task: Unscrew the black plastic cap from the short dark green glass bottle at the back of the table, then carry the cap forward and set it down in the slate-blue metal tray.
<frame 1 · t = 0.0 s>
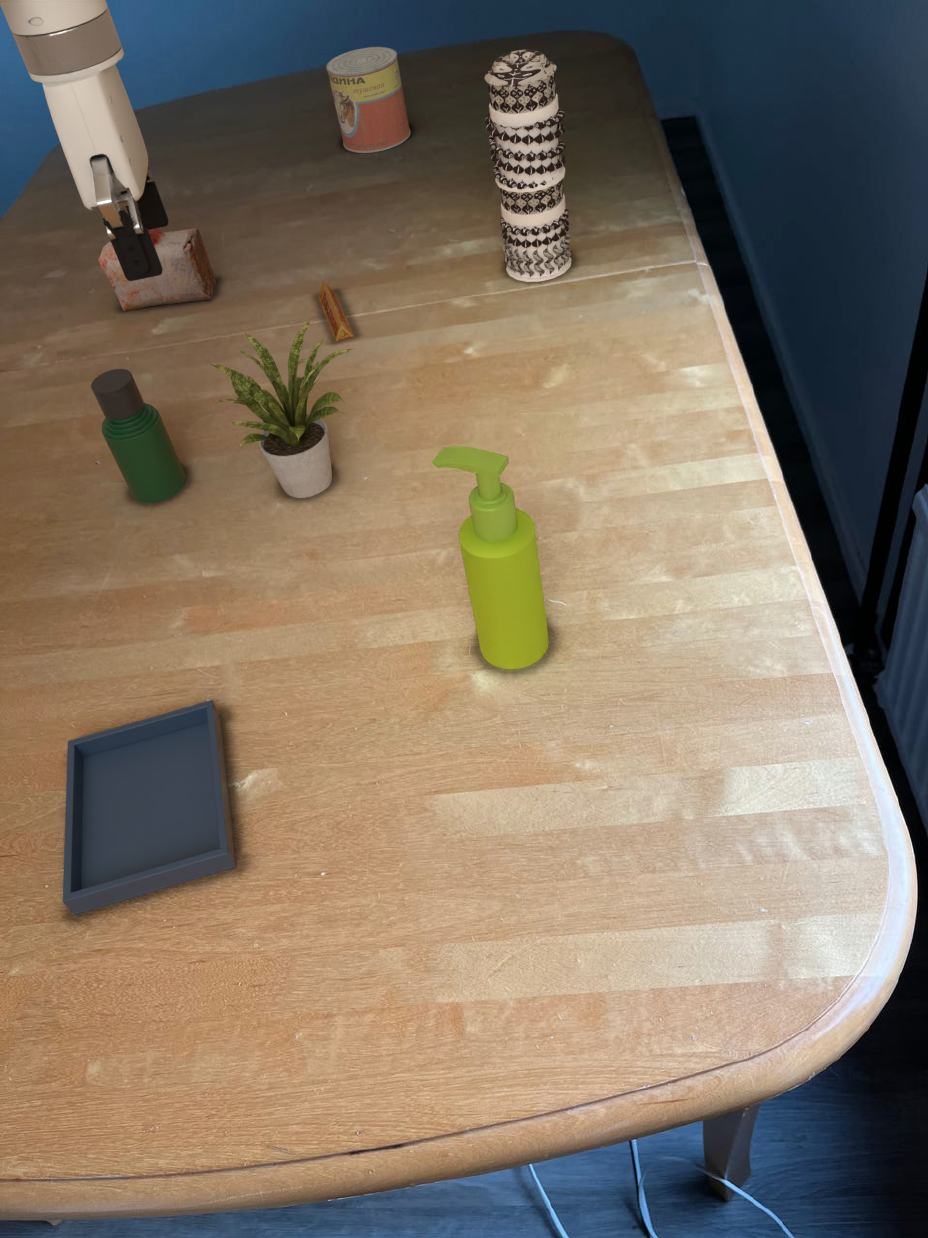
hand: (149, 251, 92), 25 cm above the table, tool pointing down, fingers open, 9 cm apart
soap dispenser: (509, 645, 88), on the table
food item: (169, 297, 140), on the table
house plant: (320, 479, 107), on the table
chocolate bar: (336, 319, 130), on the table
bottle: (159, 486, 110), on the table
tray: (153, 809, 81), on the table
decorative candle: (538, 268, 131), on the table
canned food: (377, 139, 169), on the table
cap: (112, 383, 101), point 13 cm above the table, screwed on, not yet turned
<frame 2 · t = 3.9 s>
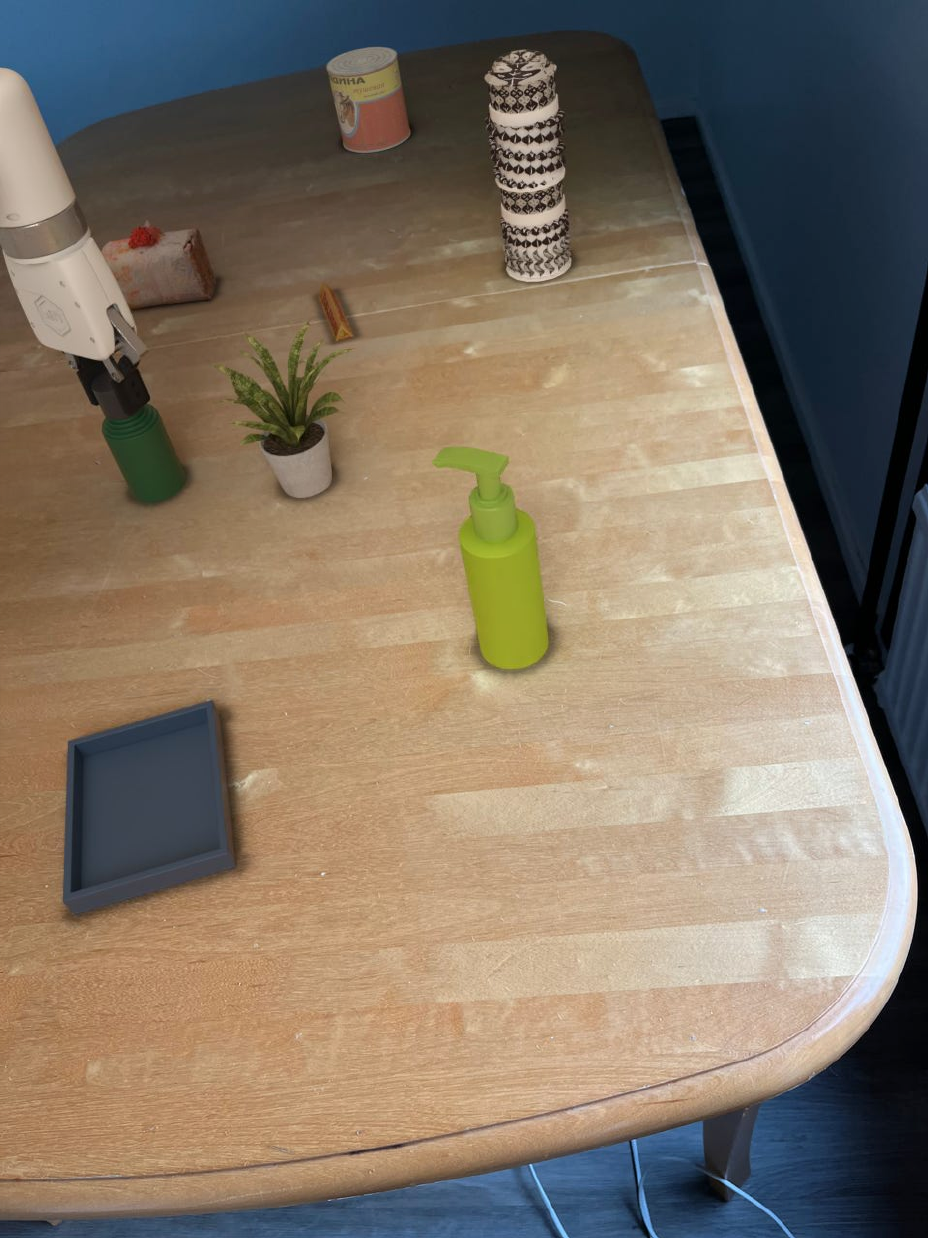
hand: (121, 401, 102), 11 cm above the table, tool pointing down, fingers closed on cap, 4 cm apart
cap: (112, 383, 101), point 13 cm above the table, screwed on, not yet turned, touching gripper
everything else where it was.
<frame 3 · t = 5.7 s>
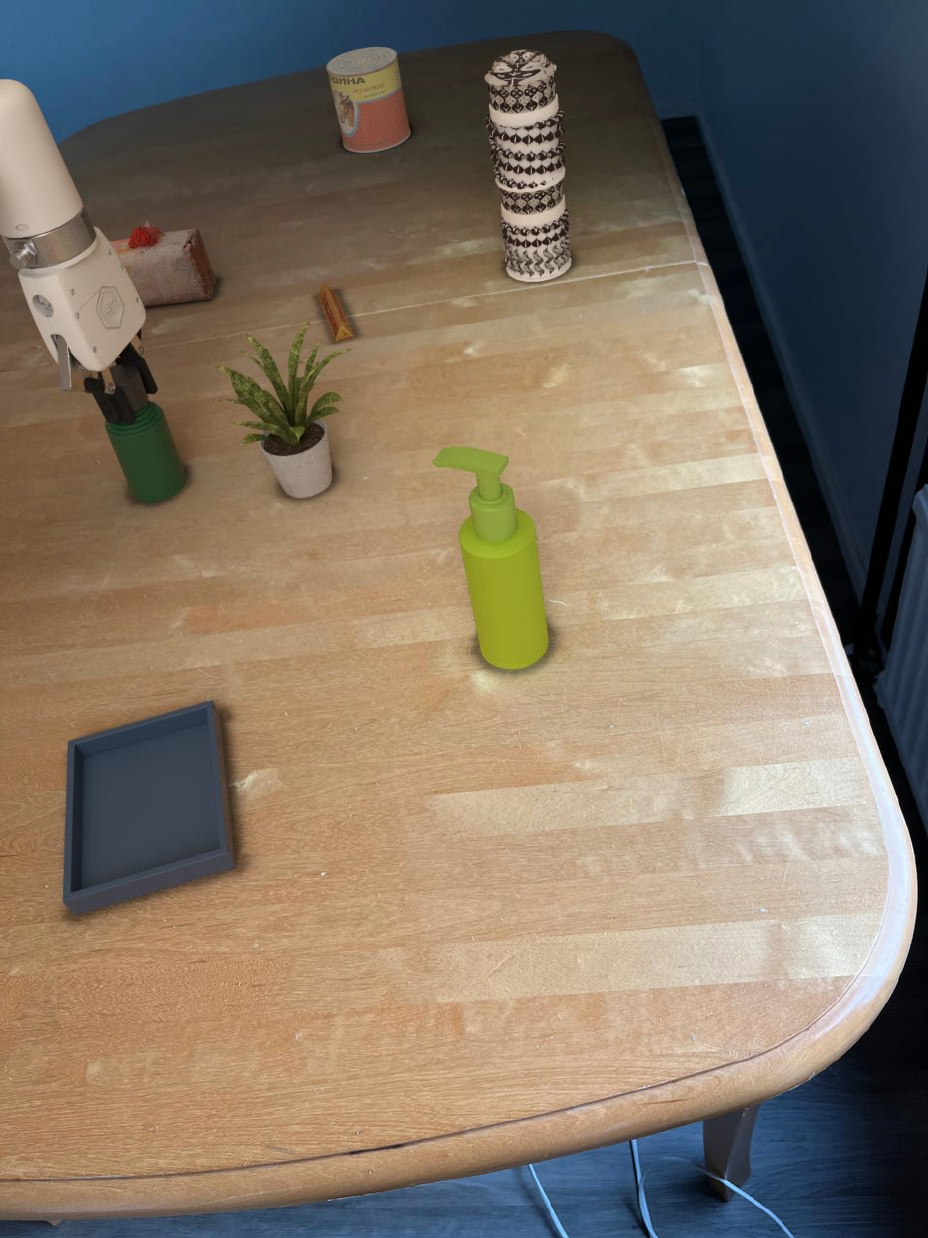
hand: (132, 405, 103), 10 cm above the table, tool pointing down, fingers closed on cap, 4 cm apart
bottle: (159, 485, 110), on the table, touching gripper
cap: (118, 378, 101), point 13 cm above the table, turned 106° so far, risen 0.1 cm, still on its thread, touching gripper
everything else where it was.
when the fingers open (10 cm above the table, at t = 13.2 s): cap stays where it is, point 13 cm above the table.
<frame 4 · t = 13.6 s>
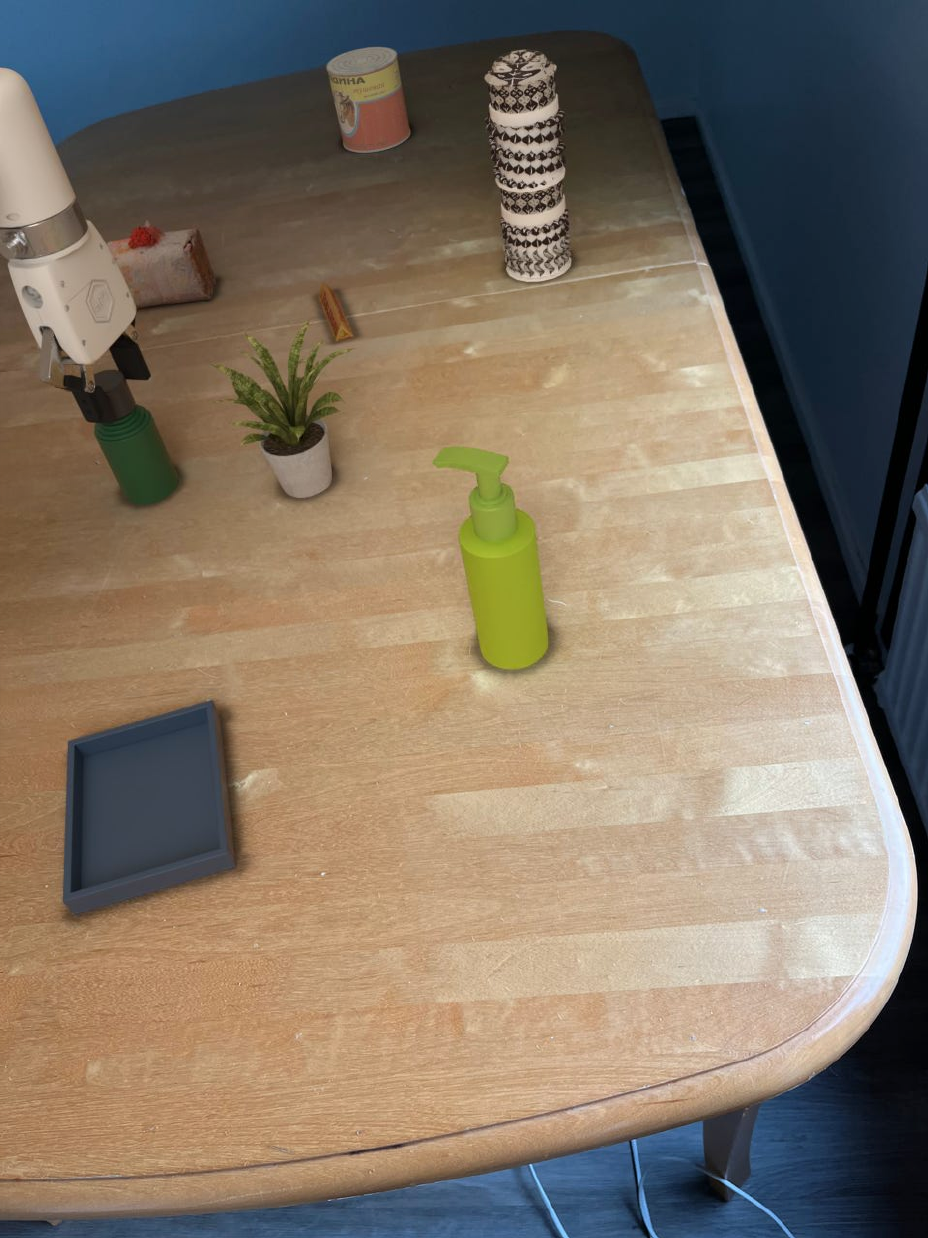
hand: (119, 398, 102), 11 cm above the table, tool pointing down, fingers open, 6 cm apart
bottle: (152, 488, 110), on the table
cap: (104, 384, 101), point 13 cm above the table, turned 105° so far, risen 0.1 cm, still on its thread
everything else where it was.
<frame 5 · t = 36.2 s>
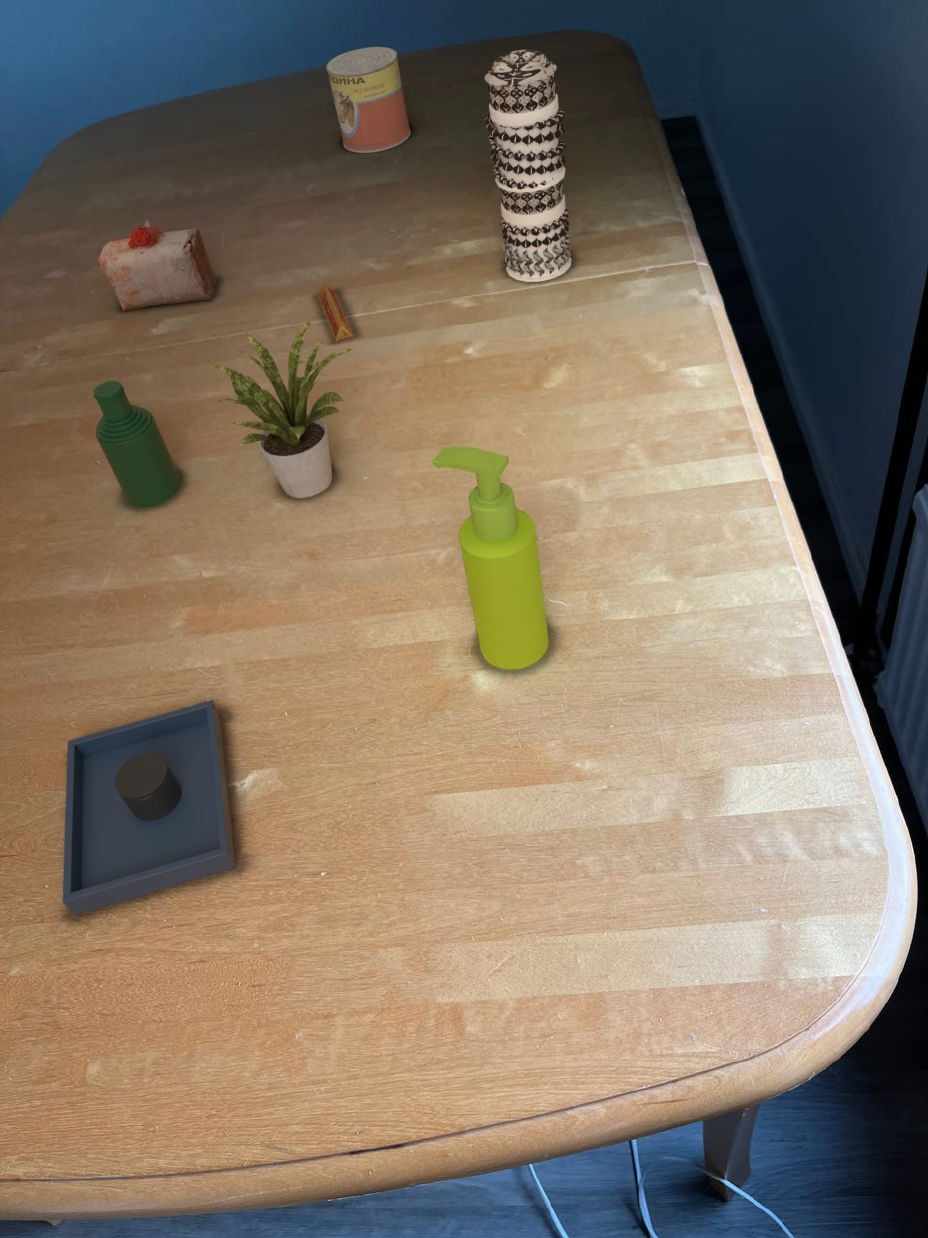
cap: (142, 778, 79), point 3 cm above the table, off its thread, touching tray
everything else where it was.
at the end: cap inside the target area in the tray (0.7 cm from its centre), point 3.4 cm above the tray's base; cap came off its thread; the gripper is holding nothing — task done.
